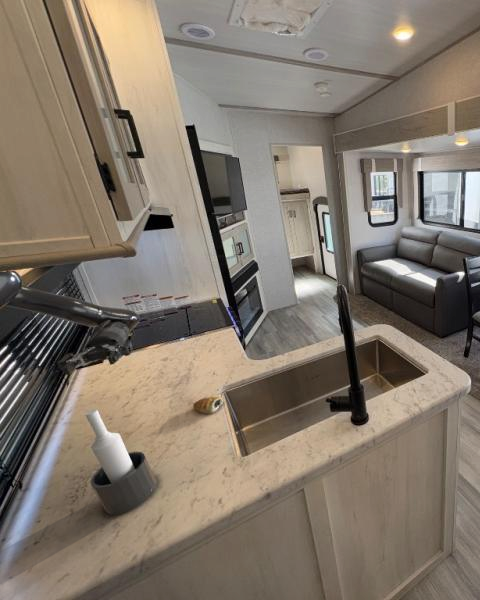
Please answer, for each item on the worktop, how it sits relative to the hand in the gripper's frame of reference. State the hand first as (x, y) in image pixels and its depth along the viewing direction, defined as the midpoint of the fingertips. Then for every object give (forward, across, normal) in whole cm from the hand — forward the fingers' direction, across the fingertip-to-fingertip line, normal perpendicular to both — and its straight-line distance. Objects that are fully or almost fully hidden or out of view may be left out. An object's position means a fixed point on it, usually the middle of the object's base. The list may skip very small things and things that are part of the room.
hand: (89, 366), depth 79 cm
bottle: (+15, +3, +30) cm, 34 cm away
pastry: (-13, +20, +31) cm, 39 cm away
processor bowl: (+15, +3, +31) cm, 35 cm away
